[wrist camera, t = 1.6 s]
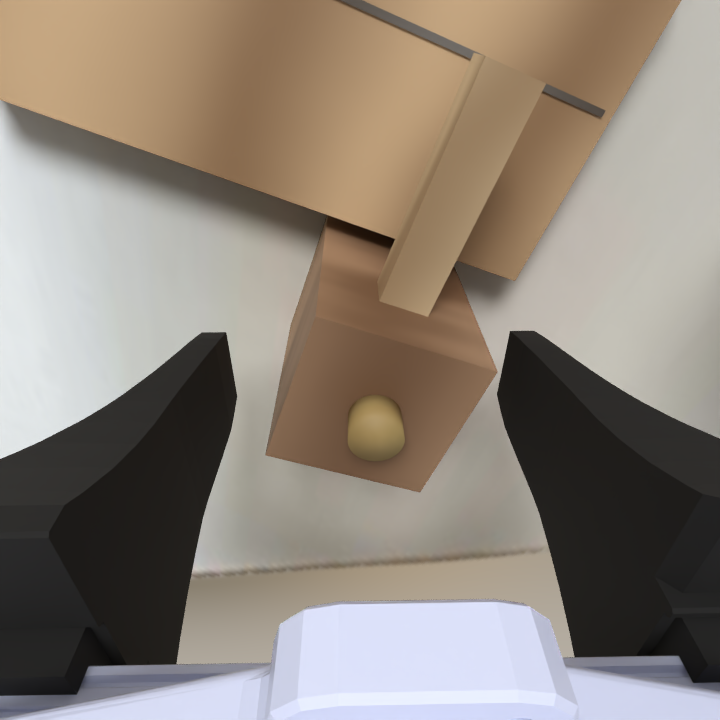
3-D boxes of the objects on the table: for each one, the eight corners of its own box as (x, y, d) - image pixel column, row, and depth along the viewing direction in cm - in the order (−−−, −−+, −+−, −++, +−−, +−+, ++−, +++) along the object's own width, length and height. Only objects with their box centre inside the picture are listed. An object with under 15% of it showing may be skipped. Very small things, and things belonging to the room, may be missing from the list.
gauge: (536, 85, 13) (681, 139, 7) (400, 358, 18) (423, 518, 12) (391, 20, 12) (428, 24, 6) (290, 325, 17) (260, 481, 11)
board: (678, -55, 11) (721, -65, 10) (501, 259, 15) (515, 281, 14) (-36, -452, 8) (-107, -538, 7) (-11, 75, 12) (-52, 82, 11)
